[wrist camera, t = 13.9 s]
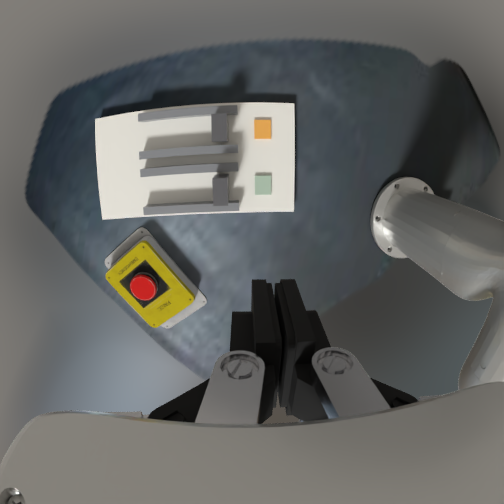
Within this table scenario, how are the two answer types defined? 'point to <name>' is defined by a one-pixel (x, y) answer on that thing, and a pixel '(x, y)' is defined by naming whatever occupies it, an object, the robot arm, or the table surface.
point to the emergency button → (152, 281)
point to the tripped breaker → (219, 127)
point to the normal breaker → (220, 189)
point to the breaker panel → (196, 160)
